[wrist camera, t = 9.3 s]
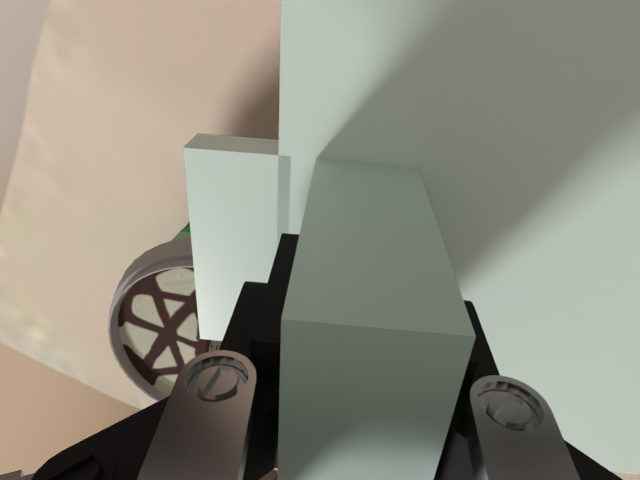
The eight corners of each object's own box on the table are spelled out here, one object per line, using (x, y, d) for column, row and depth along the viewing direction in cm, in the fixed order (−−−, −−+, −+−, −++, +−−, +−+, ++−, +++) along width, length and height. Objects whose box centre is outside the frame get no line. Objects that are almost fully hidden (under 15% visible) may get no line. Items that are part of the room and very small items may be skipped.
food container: (168, 165, 31) (92, 233, 23) (256, 184, 31) (215, 259, 23) (163, 306, 37) (101, 404, 29) (237, 322, 37) (199, 423, 29)
